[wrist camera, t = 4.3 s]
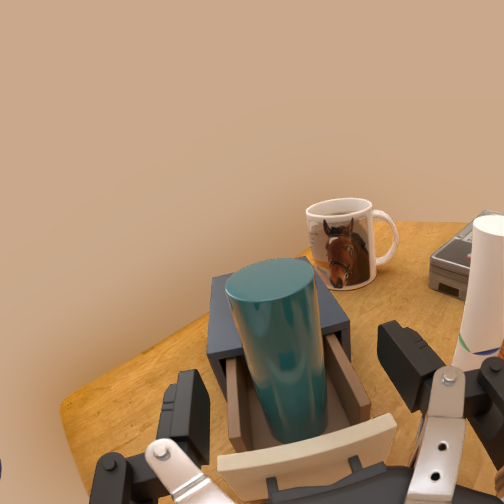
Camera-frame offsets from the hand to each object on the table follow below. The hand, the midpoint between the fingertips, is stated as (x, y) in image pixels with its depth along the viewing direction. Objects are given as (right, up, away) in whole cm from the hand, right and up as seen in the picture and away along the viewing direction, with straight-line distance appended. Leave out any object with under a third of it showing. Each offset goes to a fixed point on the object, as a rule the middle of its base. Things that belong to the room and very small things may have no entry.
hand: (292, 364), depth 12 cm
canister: (+2, -8, +8) cm, 12 cm away
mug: (+14, +1, +32) cm, 35 cm away
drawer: (+2, -10, +7) cm, 13 cm away
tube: (+18, -7, +8) cm, 21 cm away
